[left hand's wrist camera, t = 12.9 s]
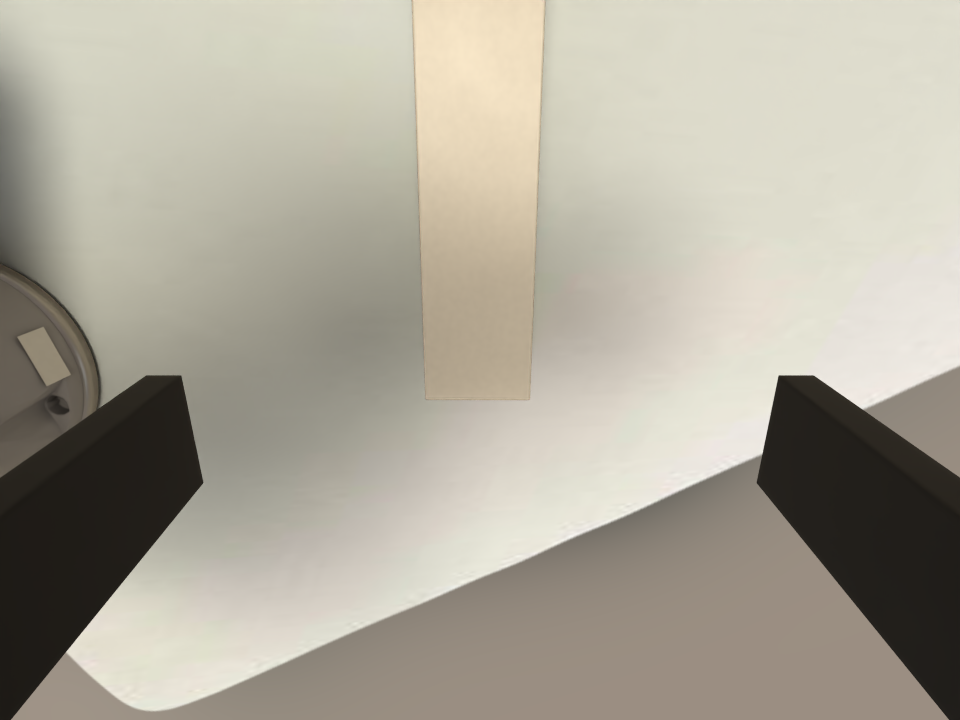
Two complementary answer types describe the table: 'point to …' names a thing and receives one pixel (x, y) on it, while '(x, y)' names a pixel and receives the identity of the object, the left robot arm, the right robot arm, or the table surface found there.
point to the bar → (478, 191)
